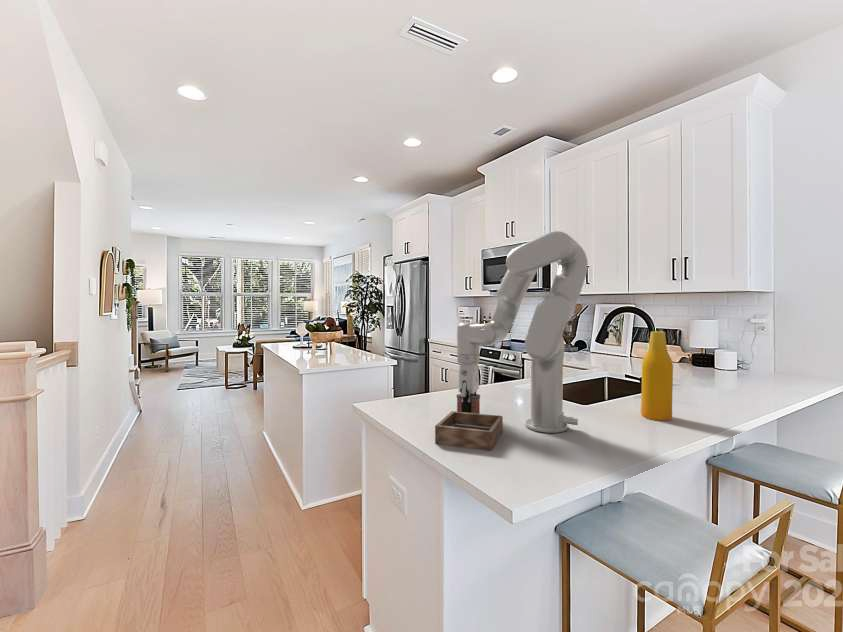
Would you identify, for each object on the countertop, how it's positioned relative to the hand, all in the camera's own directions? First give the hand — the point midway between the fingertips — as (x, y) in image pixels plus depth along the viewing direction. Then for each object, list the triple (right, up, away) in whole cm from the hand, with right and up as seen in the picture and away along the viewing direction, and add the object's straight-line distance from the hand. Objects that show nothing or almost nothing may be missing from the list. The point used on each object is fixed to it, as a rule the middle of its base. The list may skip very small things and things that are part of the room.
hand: (468, 411), depth 143 cm
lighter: (0, -2, 0) cm, 2 cm away
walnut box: (-2, -3, -22) cm, 22 cm away
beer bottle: (+64, -2, -2) cm, 64 cm away
